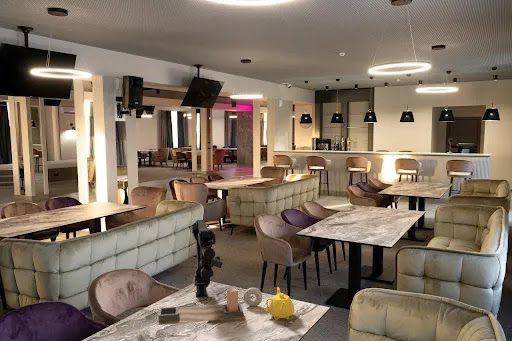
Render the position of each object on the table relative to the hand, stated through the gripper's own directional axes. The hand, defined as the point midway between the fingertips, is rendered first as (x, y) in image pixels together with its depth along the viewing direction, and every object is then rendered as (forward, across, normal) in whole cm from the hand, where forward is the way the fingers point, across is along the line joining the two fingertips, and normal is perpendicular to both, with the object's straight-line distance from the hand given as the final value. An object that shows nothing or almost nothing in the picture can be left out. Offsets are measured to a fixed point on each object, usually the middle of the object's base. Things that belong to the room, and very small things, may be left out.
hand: (206, 283), depth 213 cm
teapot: (+13, -16, -35) cm, 41 cm away
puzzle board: (+13, -10, +4) cm, 16 cm away
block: (+11, -13, -12) cm, 21 cm away
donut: (+13, -2, -24) cm, 27 cm away
